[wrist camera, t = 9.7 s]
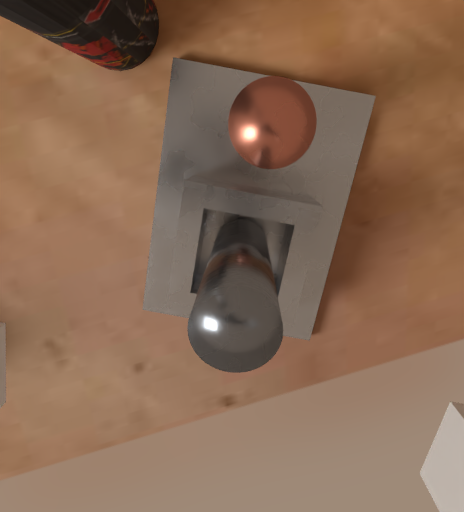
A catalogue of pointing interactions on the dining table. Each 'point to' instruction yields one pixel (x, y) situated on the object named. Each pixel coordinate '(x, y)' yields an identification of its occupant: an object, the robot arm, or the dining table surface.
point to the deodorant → (92, 27)
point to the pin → (237, 302)
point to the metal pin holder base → (253, 181)
